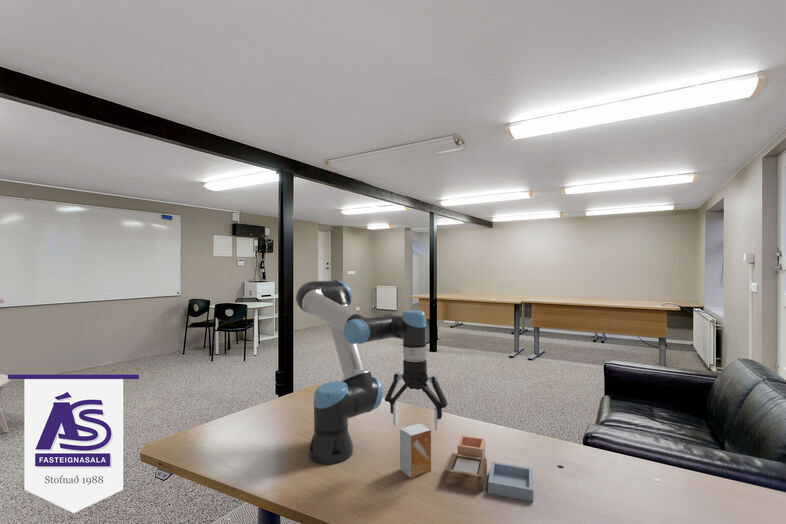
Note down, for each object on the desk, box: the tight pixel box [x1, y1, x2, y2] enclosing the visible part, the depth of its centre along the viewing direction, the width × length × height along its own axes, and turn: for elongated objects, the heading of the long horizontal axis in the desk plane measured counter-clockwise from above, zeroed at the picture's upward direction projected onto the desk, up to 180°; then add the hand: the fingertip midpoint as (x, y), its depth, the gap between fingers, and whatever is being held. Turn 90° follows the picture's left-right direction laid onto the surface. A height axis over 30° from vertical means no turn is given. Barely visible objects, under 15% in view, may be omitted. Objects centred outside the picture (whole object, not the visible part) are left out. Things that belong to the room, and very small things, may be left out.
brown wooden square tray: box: [444, 452, 488, 492], centre depth 113 cm, size 11×11×4 cm
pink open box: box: [456, 434, 486, 458], centre depth 124 cm, size 8×8×6 cm
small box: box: [399, 423, 432, 479], centre depth 118 cm, size 8×6×13 cm
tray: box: [487, 461, 534, 502], centre depth 109 cm, size 12×12×3 cm
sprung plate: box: [453, 458, 480, 474], centre depth 113 cm, size 7×8×1 cm
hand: (416, 426), depth 118 cm, fingers open, 13 cm apart
